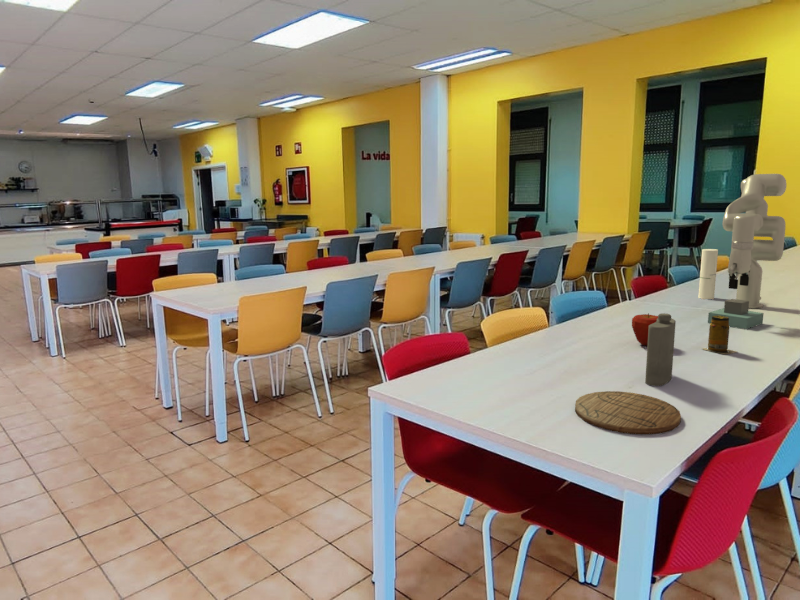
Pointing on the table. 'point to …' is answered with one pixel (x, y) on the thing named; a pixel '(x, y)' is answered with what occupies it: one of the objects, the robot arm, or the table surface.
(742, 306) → the plug
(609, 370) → the table surface
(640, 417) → the trivet
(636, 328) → the apple
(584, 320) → the table surface
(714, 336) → the condiment
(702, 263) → the cylindrical container
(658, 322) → the flask
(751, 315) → the socket
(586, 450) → the table surface
